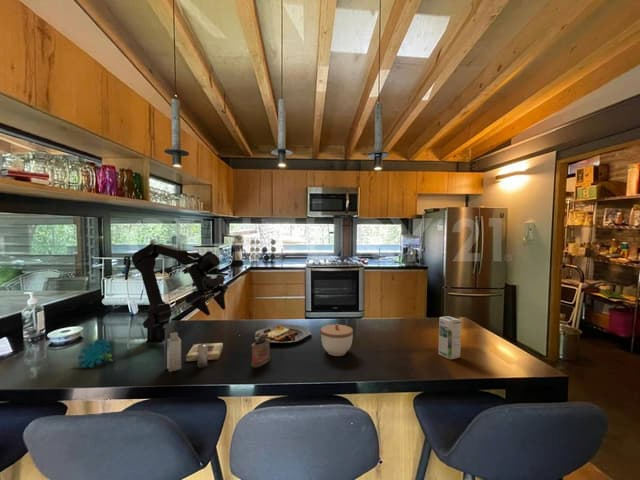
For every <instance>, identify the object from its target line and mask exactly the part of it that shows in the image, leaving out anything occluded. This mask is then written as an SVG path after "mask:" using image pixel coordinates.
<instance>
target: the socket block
mask: <svg viewBox="0 0 640 480" xmlns="http://www.w3.org/2000/svg"><path fill="white" fill-rule="evenodd" d="M200 344H201V343H196V344H192V347H191V348H190V350H189V351H188V353H187V354H186V356H185V357H186V362H192V361H193V362H194V361H197V362H198V345H200ZM206 344H207V345H208V361H209V360H219V358H220V356H221V354H222V351H223V349H224V343H223V342H216V343H215V342H214V343H211V342H210V343H206Z"/></svg>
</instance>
